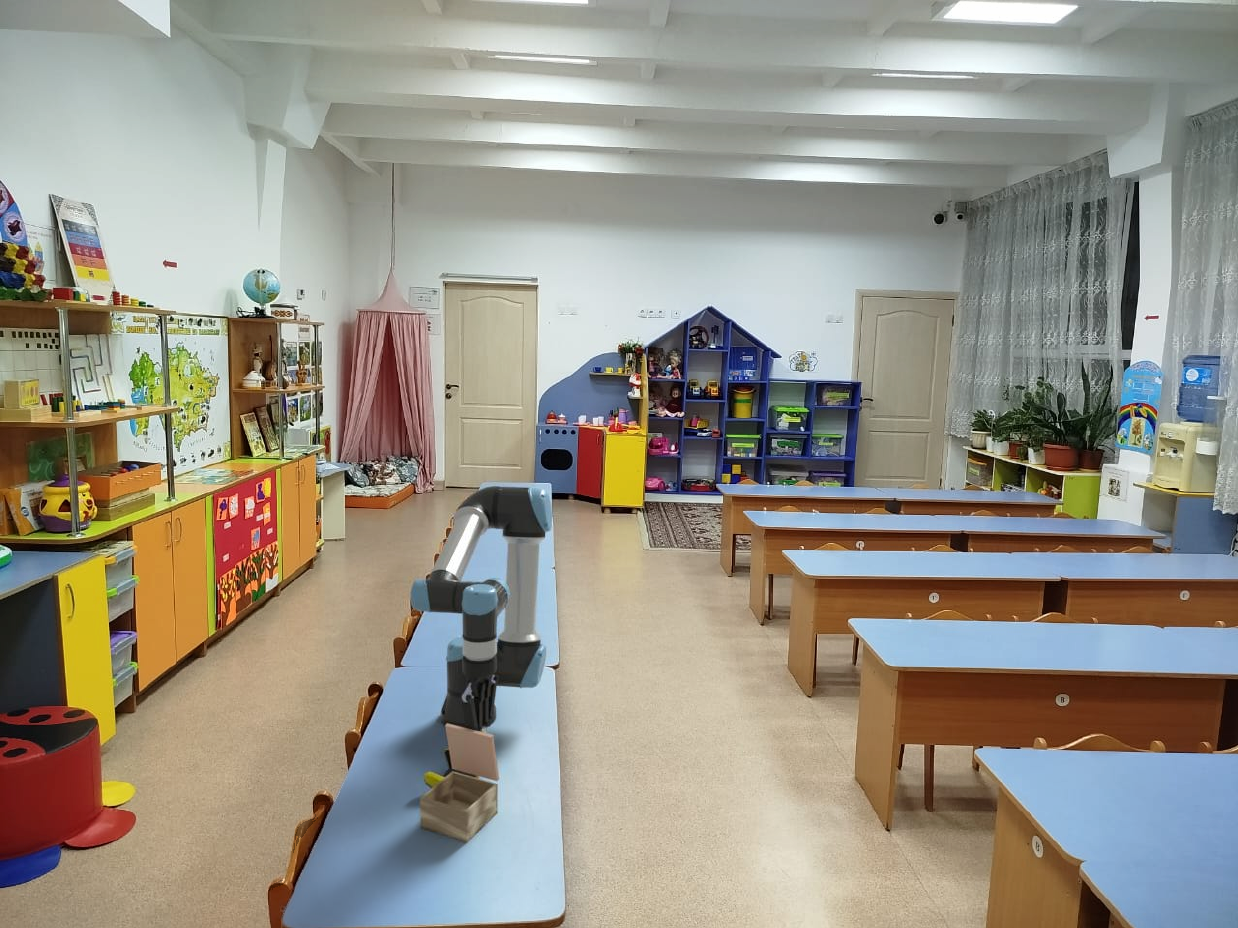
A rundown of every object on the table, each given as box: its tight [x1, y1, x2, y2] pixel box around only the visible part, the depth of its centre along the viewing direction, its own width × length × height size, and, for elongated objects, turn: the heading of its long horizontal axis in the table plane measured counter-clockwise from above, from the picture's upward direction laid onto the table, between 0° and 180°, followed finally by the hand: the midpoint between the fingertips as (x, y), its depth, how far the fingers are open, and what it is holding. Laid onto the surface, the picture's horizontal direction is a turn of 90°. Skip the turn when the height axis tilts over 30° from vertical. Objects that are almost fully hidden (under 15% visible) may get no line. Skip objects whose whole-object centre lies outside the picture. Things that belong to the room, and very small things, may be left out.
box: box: [419, 771, 499, 843], centre depth 182 cm, size 12×12×7 cm
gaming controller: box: [423, 747, 480, 789], centre depth 197 cm, size 15×6×10 cm
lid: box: [444, 723, 500, 782], centre depth 185 cm, size 12×12×1 cm
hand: (479, 753), depth 188 cm, fingers closed
